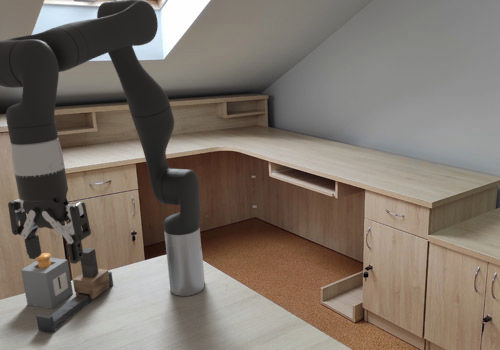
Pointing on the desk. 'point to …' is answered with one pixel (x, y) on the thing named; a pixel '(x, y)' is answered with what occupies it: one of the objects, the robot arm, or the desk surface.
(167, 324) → the desk surface
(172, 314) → the desk surface
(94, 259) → the carriage
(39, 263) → the button
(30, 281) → the button housing
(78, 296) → the rail
